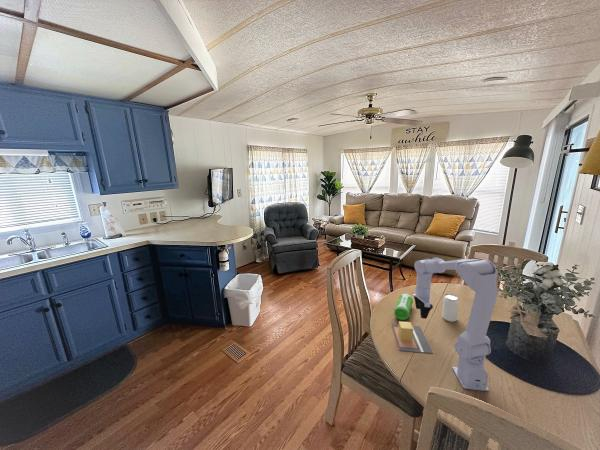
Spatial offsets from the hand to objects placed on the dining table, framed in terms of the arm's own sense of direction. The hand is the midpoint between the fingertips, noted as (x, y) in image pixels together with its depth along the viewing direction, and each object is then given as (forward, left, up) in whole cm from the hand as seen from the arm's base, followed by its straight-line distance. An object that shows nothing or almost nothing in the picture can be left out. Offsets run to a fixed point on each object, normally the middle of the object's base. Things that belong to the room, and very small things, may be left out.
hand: (421, 313), depth 112 cm
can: (+14, -18, -11) cm, 25 cm away
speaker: (+17, +3, -11) cm, 21 cm away
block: (-4, +7, -10) cm, 13 cm away
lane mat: (-4, +5, -10) cm, 12 cm away
